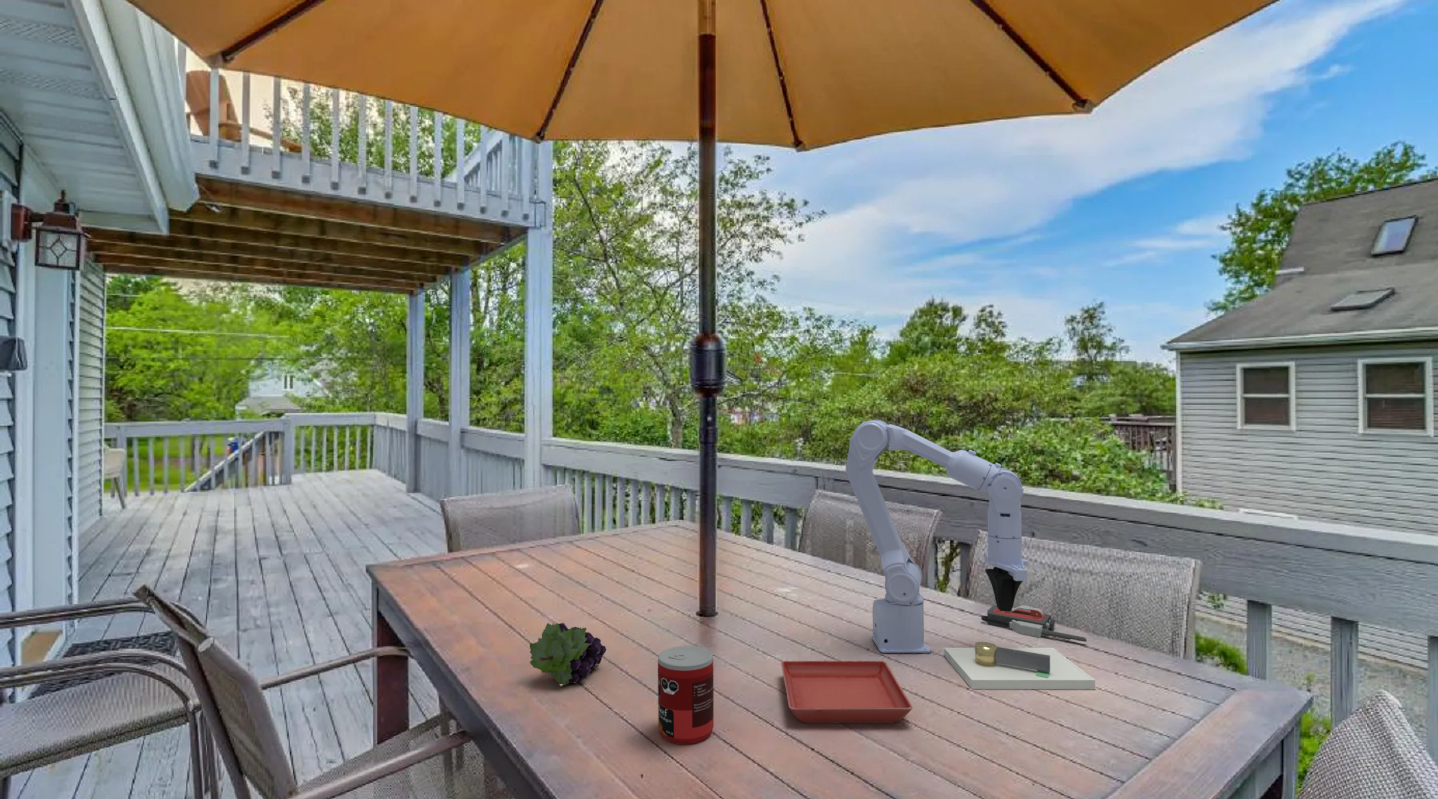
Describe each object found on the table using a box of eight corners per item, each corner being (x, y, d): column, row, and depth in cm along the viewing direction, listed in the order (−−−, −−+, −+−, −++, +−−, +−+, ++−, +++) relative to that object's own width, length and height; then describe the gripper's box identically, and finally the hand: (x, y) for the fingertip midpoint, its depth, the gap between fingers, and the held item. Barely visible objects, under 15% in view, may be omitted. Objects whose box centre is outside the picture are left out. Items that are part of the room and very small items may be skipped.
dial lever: (973, 662, 113) (973, 647, 113) (976, 655, 116) (976, 640, 116) (1049, 676, 107) (1049, 659, 107) (1050, 668, 110) (1050, 652, 110)
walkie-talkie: (977, 627, 137) (1085, 649, 125) (977, 606, 137) (1085, 626, 125) (989, 616, 144) (1093, 635, 132) (989, 596, 144) (1092, 614, 132)
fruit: (609, 686, 116) (557, 698, 103) (564, 666, 121) (508, 675, 108) (625, 628, 118) (575, 633, 105) (580, 610, 123) (527, 613, 109)
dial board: (971, 689, 107) (971, 678, 107) (944, 655, 121) (944, 646, 121) (1095, 689, 106) (1095, 678, 106) (1053, 655, 120) (1052, 646, 120)
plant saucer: (780, 678, 113) (780, 659, 113) (885, 678, 112) (885, 659, 112) (789, 731, 94) (789, 708, 94) (914, 731, 94) (914, 708, 94)
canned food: (658, 720, 97) (657, 646, 97) (711, 717, 98) (711, 644, 98) (657, 747, 90) (657, 667, 90) (715, 744, 90) (715, 664, 90)
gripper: (1044, 544, 112) (1045, 623, 112) (1010, 528, 127) (1010, 598, 127) (1003, 544, 112) (1003, 623, 112) (973, 528, 127) (973, 597, 127)
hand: (1004, 609), depth 120 cm, fingers closed
